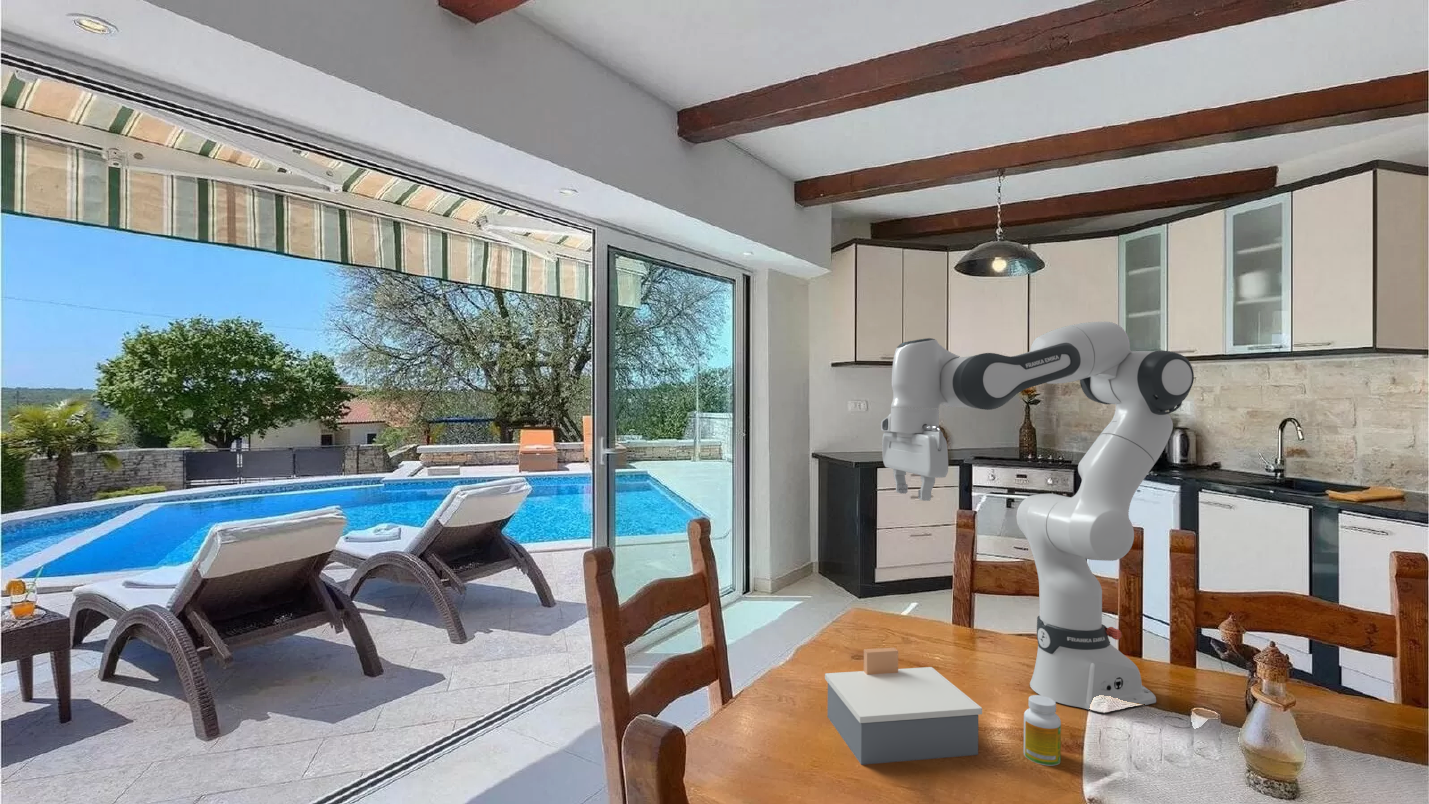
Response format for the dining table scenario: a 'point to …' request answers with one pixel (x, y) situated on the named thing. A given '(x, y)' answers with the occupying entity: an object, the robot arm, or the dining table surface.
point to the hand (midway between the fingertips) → (912, 496)
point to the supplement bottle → (1042, 731)
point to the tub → (903, 735)
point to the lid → (898, 691)
